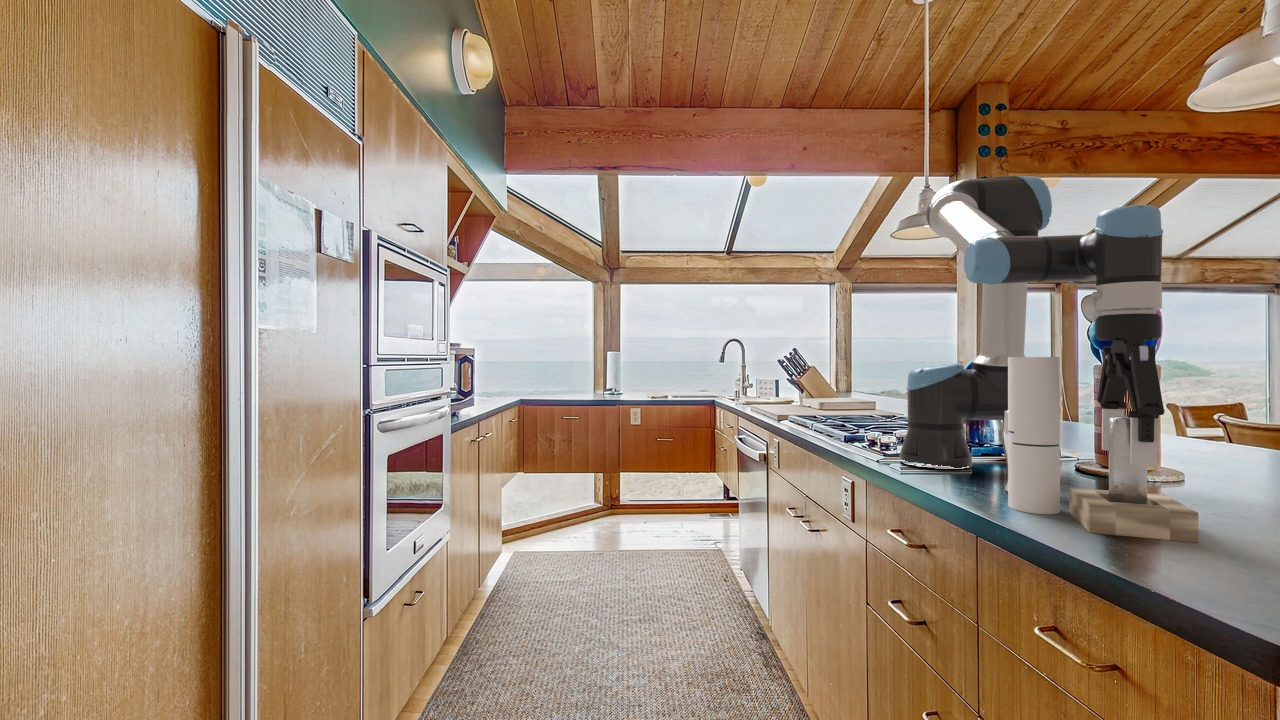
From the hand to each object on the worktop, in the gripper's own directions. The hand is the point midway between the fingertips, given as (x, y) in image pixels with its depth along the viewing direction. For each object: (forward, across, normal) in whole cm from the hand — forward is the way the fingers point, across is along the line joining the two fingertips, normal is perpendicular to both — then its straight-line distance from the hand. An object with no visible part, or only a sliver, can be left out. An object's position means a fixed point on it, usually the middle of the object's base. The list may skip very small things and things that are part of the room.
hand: (1127, 457), depth 89 cm
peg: (+10, 0, 0) cm, 10 cm away
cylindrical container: (+10, -7, -11) cm, 16 cm away
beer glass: (+11, -21, -10) cm, 25 cm away
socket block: (+10, 0, 0) cm, 10 cm away
